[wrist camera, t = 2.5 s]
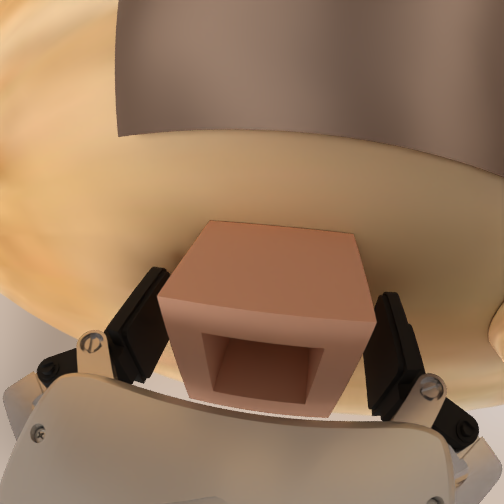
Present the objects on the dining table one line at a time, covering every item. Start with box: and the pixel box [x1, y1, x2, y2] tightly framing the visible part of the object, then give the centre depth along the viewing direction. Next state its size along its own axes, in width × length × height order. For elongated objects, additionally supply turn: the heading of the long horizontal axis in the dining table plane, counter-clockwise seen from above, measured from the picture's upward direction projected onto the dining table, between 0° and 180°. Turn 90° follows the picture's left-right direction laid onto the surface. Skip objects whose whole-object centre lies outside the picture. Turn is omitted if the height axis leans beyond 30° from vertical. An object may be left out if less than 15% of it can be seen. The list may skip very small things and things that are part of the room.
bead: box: [157, 221, 377, 418], centre depth 10 cm, size 6×6×5 cm
